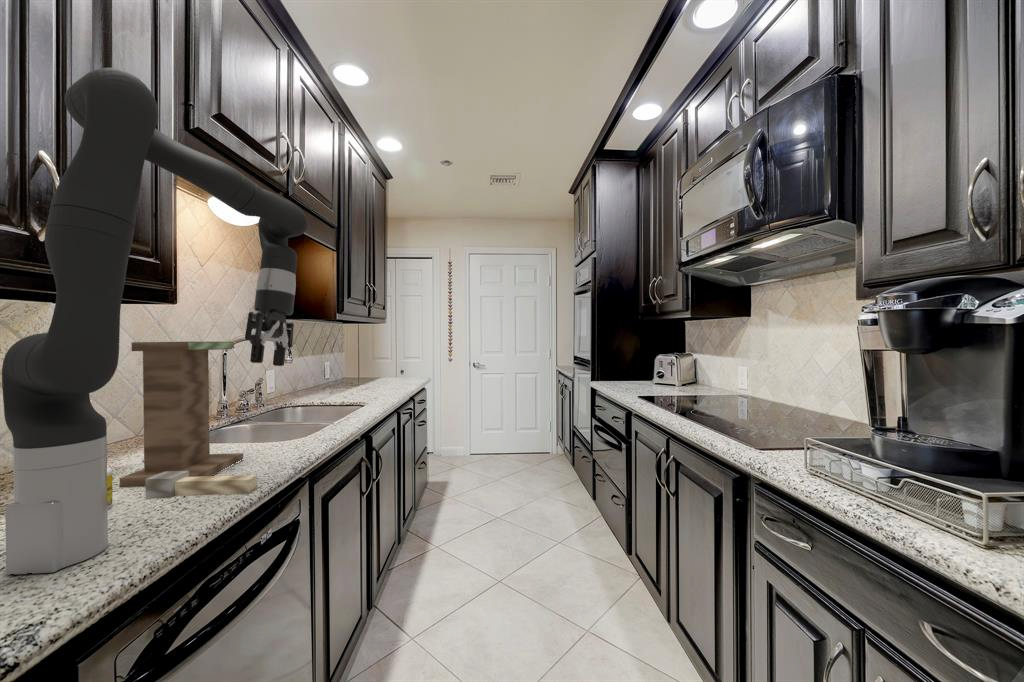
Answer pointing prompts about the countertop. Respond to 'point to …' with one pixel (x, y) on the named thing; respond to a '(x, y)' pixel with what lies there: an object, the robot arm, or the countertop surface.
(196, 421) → the stand
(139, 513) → the countertop surface
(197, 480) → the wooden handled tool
